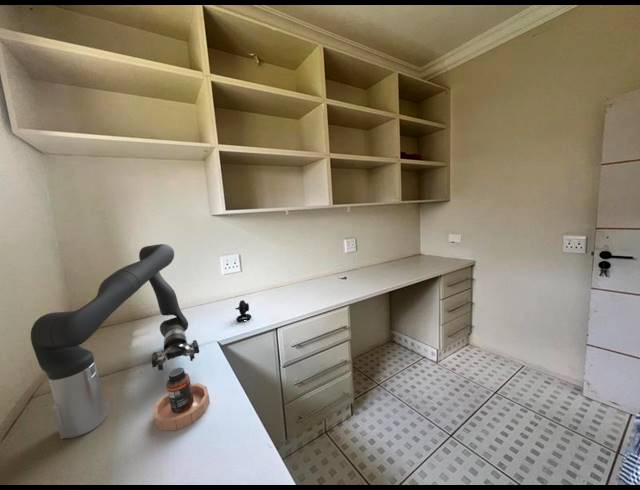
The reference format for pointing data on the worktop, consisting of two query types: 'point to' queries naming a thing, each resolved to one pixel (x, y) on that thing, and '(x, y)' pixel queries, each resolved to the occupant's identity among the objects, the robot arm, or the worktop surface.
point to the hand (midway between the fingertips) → (176, 363)
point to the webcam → (243, 311)
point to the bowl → (178, 420)
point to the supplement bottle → (179, 390)
